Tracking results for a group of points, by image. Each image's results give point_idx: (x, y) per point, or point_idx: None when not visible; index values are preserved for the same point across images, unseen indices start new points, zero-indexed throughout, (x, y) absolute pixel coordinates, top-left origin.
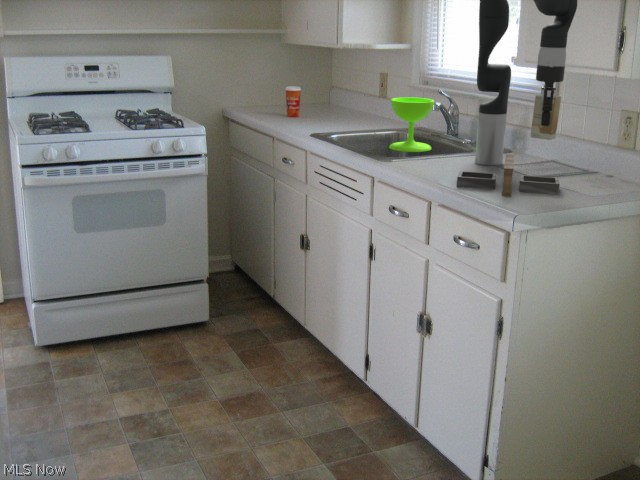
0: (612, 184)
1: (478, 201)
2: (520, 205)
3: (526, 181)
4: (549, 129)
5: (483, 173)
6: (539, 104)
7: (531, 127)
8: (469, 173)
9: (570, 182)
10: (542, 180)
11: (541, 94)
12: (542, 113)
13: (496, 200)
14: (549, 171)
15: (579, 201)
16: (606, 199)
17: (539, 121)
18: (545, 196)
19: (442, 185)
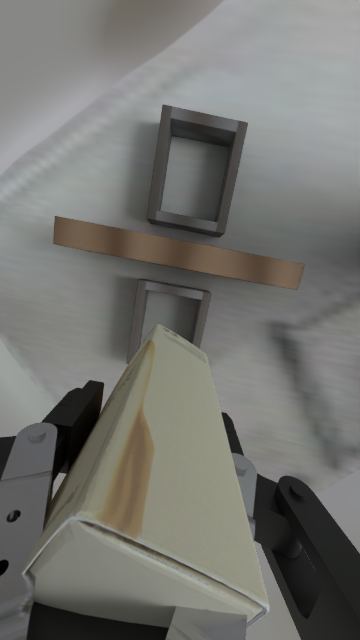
0: None
1: (26, 165)
2: (17, 259)
3: (139, 295)
4: (104, 406)
5: (223, 195)
6: (86, 453)
7: (152, 336)
8: (231, 155)
9: (241, 400)
10: (192, 339)
11: (20, 610)
12: (56, 420)
13: (47, 212)
14: (348, 382)
15: (81, 380)
16: None
17: (120, 382)
18: (108, 325)
19: (177, 80)
